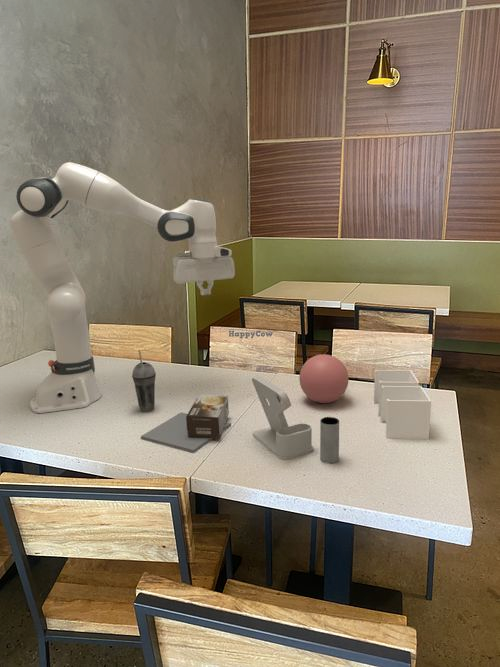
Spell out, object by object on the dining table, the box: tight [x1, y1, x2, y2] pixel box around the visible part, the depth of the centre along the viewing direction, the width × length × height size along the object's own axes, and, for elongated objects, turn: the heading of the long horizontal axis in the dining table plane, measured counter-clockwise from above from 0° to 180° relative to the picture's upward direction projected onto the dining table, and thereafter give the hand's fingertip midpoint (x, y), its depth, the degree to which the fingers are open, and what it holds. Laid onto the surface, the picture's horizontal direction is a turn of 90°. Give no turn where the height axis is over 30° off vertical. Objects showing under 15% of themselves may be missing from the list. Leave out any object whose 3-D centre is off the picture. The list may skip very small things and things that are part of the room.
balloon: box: [298, 353, 349, 404], centre depth 158 cm, size 15×20×15 cm
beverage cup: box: [131, 349, 157, 413], centre depth 153 cm, size 7×7×20 cm
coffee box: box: [186, 394, 230, 439], centre depth 140 cm, size 9×6×16 cm
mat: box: [140, 412, 232, 454], centre depth 139 cm, size 18×18×1 cm
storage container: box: [373, 369, 432, 440], centre depth 142 cm, size 25×11×11 cm, turn 174°
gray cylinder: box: [319, 416, 340, 464], centre depth 120 cm, size 4×4×10 cm
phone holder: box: [251, 374, 314, 460], centre depth 129 cm, size 17×10×18 cm, turn 27°
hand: (205, 294), depth 159 cm, fingers closed
